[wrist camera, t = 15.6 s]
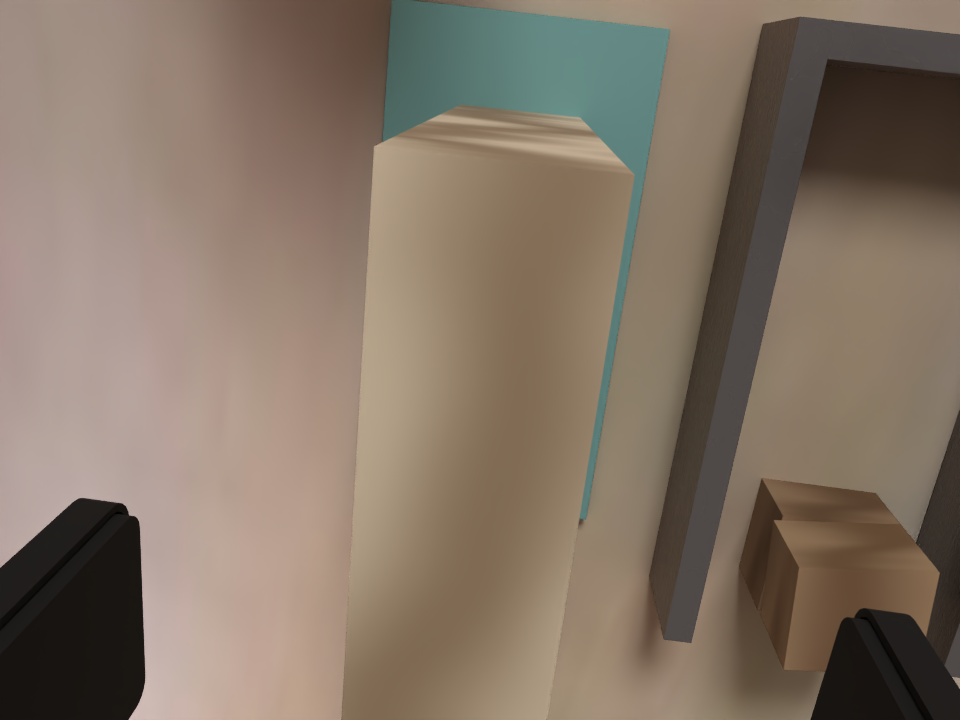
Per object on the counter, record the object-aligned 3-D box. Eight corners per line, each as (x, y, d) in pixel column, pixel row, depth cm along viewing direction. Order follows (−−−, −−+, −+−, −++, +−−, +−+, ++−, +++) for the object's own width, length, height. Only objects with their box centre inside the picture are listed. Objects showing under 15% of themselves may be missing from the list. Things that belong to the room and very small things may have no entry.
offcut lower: (874, 491, 32) (907, 532, 29) (847, 578, 34) (876, 625, 31) (761, 476, 32) (783, 515, 30) (738, 564, 34) (757, 609, 31)
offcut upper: (900, 524, 29) (939, 572, 27) (882, 619, 31) (917, 675, 28) (773, 520, 30) (799, 567, 27) (760, 615, 31) (783, 669, 28)
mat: (667, 30, 27) (670, 29, 27) (585, 513, 33) (585, 519, 33) (394, -1, 27) (392, -3, 27) (361, 484, 33) (359, 490, 33)
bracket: (1106, 62, 27) (1200, 61, 23) (920, 610, 34) (968, 678, 30) (763, 24, 27) (800, 16, 23) (649, 575, 34) (663, 639, 30)
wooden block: (579, 117, 28) (634, 174, 13) (535, 442, 32) (537, 781, 17) (461, 104, 28) (374, 145, 13) (431, 430, 32) (339, 756, 17)
